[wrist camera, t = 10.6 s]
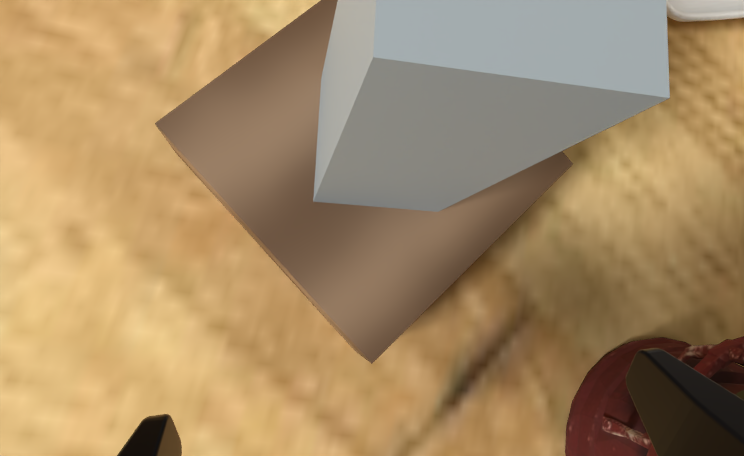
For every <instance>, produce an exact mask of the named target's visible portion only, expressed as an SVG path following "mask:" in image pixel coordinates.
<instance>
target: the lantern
mask: <svg viewBox="0 0 744 456" xmlns="http://www.w3.org/2000/svg"><path fill="white" fill-rule="evenodd" d="M650 348H659V349H662V350H664V351H666V352H667V353H669V354H671V355H672V356H674V357H675V358H677V359H679V360H680V361H682V362H683V363H685V364H687V365H688V366H690V367H691V368H693V369H695V370H696V371H698V372H699V373H701V374H703V375H704V376H706V377H707V378H709V379H711V380H712V381H714V382H715V383H717V384H719V385H720V386H722V387H723V388H725V389H727V390H728V391H730V392H731V393H733V394H735V395H736V396H738V397H739V398H741V399H743V400H744V367H742V366H744V336H743V337H740V338H737V339H734V340H729V339H726V340H725V341H723V342H721V343H720V344H718V345H698V346H692V345H690V344H688V343H686V342H682V341H677V340H673V339H668V338H663V337H662V338H652V339H645V340H639V341H632V342H629V343H627V344H624V345H622V346H620V347H618V348H617V349H615V350H613V351H612V352H610V353H608V354H606V355H605V356H604V357H603V358H602V359H601V360H600V361H599V362H598V363H597V364H596V365H595V366H594V367H593V368H592V369H591V370H590V371H589V372H588V373H587V375H586V377H585V379H584V381H583V383H582V384H581V386H580V388H579V390H578V392H577V394H576V395H575V397H574V399H573V401H572V405H571V409H570V414H569V418H568V422H567V426H566V446H565V454H566V456H657V454H656V451H655V449H654V447H653V445H652V443H651V440H650V438H649V436H648V434H647V431H646V429H645V427H644V425H643V422H642V420H641V418H640V416H639V413H638V411H637V409H636V407H635V404H634V402H633V400H632V398H631V395H630V393H629V391H628V388H627V385H626V375H627V372H628V370H629V368H630V365H631V363H632V361H633V358H634V356H635V354H636V353H637V352H638V351H639V350H643V349H650ZM734 362H735V363H734ZM736 363H737V364H736ZM738 364H740V365H742V366H740V365H738Z"/></svg>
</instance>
